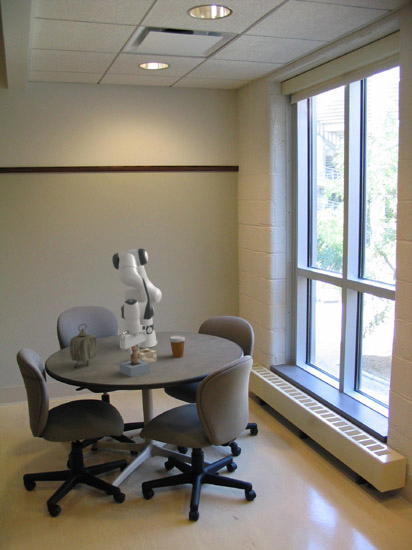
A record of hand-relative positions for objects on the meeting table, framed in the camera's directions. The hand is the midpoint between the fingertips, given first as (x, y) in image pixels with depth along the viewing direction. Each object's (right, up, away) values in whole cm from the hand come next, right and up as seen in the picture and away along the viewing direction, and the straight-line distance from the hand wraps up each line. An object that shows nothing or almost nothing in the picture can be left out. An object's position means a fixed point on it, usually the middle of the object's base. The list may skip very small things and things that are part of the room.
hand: (133, 353), depth 314 cm
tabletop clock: (-31, -10, +17) cm, 37 cm away
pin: (0, -9, +1) cm, 9 cm away
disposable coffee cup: (+23, -6, +30) cm, 39 cm away
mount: (+4, -8, +22) cm, 24 cm away
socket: (0, -11, +1) cm, 11 cm away
